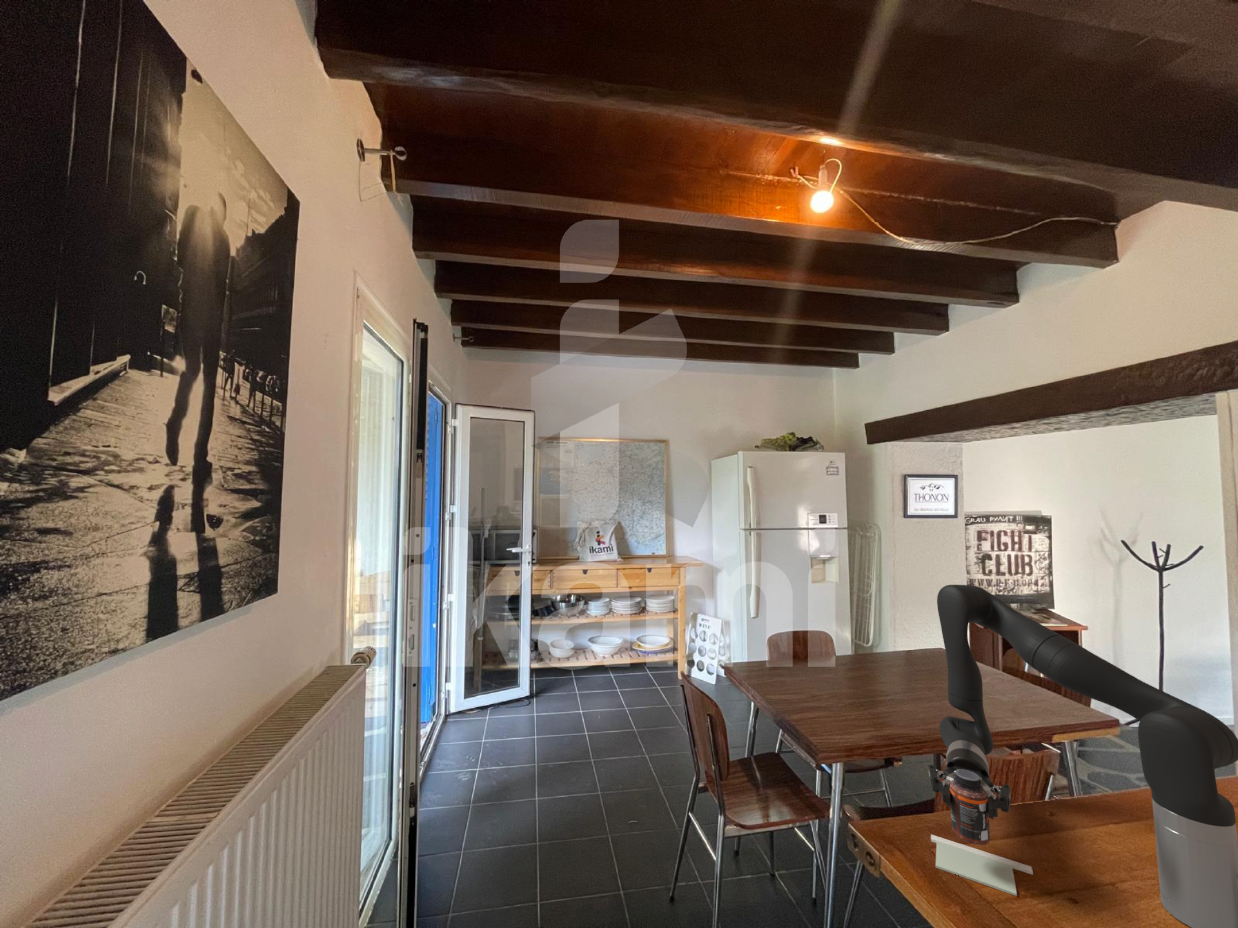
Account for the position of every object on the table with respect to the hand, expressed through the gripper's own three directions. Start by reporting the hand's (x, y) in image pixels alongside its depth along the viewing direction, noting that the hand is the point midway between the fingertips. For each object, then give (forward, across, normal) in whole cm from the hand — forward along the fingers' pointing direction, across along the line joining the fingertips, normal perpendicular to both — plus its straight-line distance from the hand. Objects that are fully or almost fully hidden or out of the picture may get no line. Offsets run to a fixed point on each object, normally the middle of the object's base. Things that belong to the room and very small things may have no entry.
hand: (969, 806), depth 91 cm
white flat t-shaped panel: (-4, +1, +12) cm, 13 cm away
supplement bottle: (-2, 0, +7) cm, 7 cm away
